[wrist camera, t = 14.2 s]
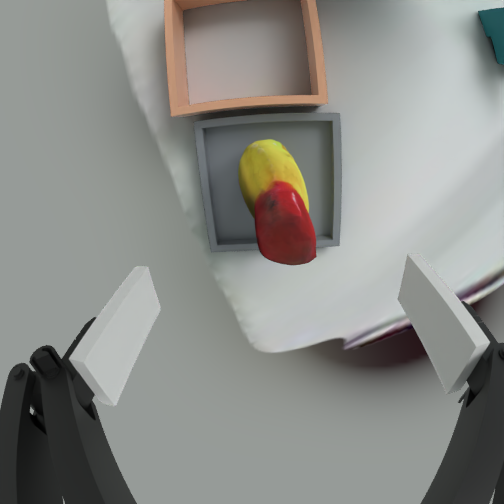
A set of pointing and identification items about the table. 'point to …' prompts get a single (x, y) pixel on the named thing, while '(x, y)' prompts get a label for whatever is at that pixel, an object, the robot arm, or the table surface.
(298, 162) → the tray
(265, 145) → the bottle
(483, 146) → the table surface
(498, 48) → the teal l-shaped bracket
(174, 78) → the holder
